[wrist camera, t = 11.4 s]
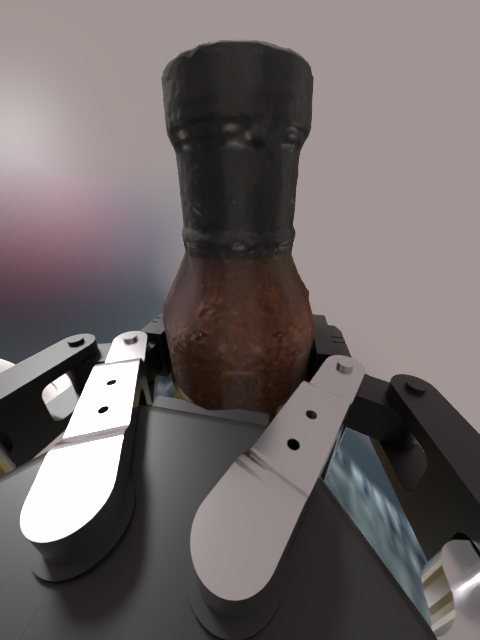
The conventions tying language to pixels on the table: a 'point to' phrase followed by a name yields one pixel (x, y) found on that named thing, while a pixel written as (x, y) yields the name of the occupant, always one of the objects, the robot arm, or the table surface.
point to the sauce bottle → (238, 225)
